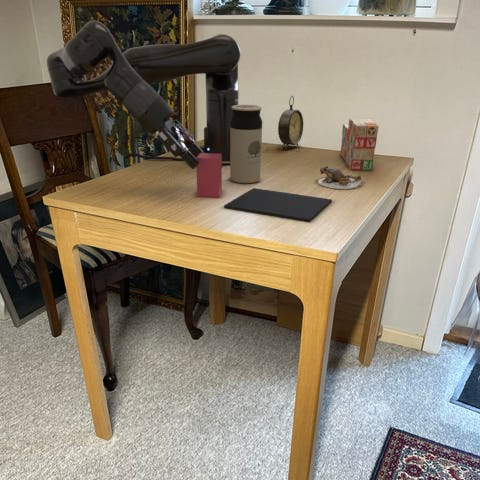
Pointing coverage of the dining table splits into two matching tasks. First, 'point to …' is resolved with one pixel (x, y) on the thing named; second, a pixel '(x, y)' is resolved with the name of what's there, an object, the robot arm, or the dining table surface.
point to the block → (209, 175)
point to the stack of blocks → (359, 143)
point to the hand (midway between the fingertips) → (199, 161)
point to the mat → (279, 204)
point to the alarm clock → (290, 126)
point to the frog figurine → (339, 179)
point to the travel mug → (245, 143)
